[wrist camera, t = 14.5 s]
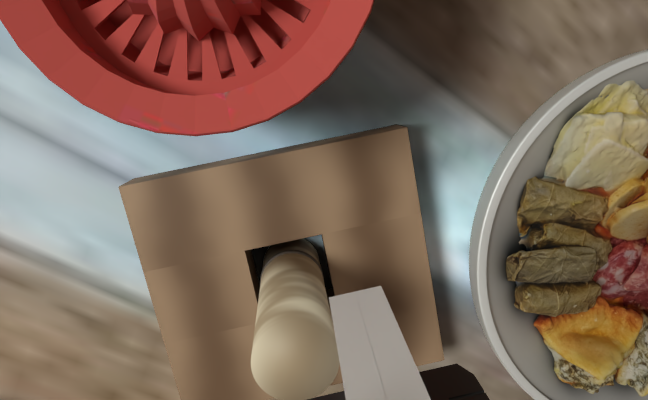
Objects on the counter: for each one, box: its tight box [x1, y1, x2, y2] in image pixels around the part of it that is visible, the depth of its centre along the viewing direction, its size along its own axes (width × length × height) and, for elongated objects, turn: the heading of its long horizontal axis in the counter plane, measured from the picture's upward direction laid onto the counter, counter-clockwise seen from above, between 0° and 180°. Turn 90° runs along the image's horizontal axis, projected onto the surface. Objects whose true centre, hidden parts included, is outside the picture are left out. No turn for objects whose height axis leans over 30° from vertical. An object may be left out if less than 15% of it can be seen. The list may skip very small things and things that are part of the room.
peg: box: [251, 238, 340, 400], centre depth 32 cm, size 4×4×15 cm
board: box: [119, 125, 444, 400], centre depth 38 cm, size 20×18×4 cm
